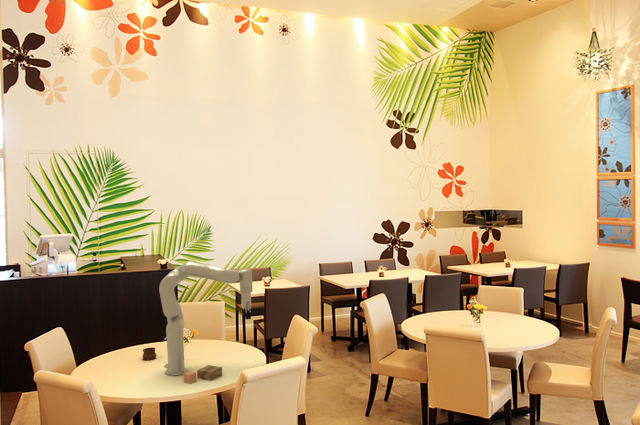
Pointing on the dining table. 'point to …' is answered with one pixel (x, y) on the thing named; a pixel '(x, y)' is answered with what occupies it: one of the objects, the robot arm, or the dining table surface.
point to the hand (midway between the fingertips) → (247, 317)
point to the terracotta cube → (189, 377)
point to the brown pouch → (149, 354)
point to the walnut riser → (209, 372)
